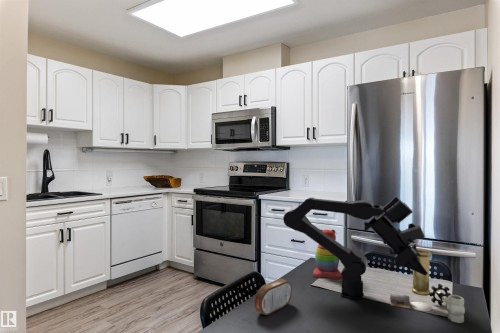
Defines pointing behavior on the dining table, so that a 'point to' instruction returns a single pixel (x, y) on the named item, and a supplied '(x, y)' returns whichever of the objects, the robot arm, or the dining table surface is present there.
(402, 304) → the small brown box
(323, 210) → the robot arm
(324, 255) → the stacking bear
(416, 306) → the gap pad
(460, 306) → the valve
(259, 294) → the tin
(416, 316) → the dining table surface
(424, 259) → the gold tall rounded piece
